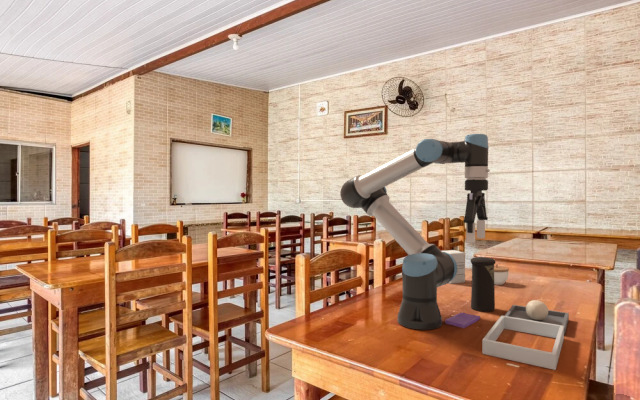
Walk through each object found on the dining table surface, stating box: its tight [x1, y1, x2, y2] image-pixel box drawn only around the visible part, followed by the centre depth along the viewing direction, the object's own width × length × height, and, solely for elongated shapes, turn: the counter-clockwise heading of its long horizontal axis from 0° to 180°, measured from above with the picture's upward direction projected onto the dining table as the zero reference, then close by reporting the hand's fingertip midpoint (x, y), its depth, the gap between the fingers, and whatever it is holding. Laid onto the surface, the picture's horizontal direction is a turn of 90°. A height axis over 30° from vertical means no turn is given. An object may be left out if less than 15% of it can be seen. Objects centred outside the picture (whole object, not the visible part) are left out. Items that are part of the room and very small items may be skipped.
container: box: [470, 256, 496, 313], centre depth 155 cm, size 9×9×20 cm
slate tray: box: [504, 304, 570, 337], centre depth 140 cm, size 18×18×2 cm
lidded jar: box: [494, 263, 510, 286], centre depth 196 cm, size 11×11×9 cm
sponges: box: [444, 312, 481, 329], centre depth 141 cm, size 7×13×2 cm, turn 135°
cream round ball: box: [525, 299, 549, 320], centre depth 140 cm, size 7×7×7 cm
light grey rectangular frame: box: [481, 315, 565, 371], centre depth 119 cm, size 26×18×4 cm
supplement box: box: [441, 249, 466, 285], centre depth 201 cm, size 9×9×15 cm
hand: (475, 240), depth 140 cm, fingers open, 13 cm apart
